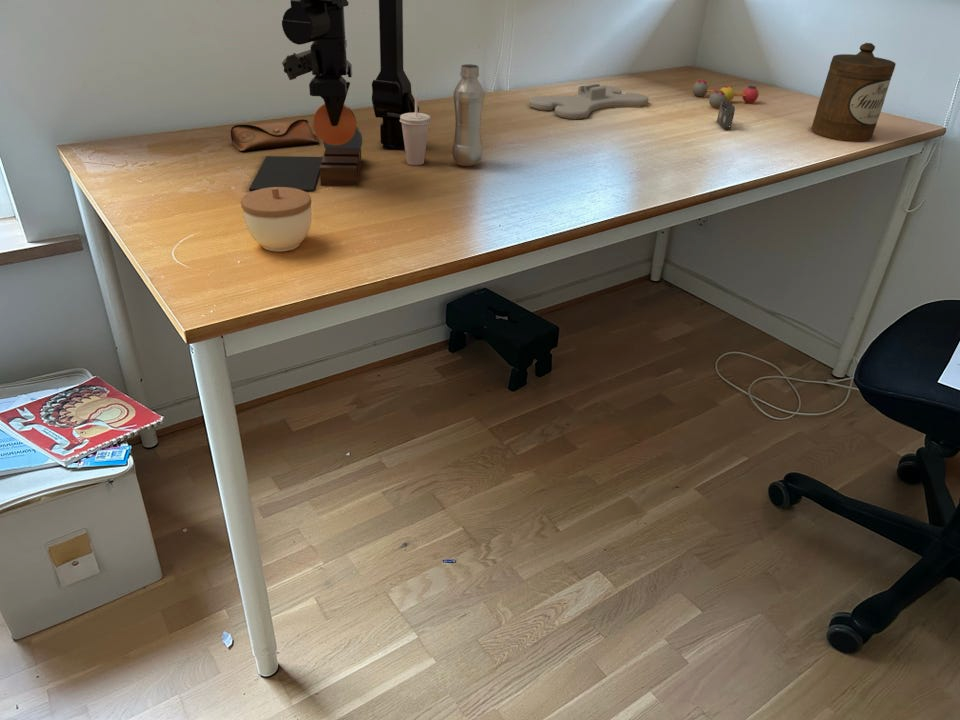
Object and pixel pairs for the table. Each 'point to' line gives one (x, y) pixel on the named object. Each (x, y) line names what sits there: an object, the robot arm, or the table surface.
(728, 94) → the molecule model
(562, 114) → the holder
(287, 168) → the grey mat
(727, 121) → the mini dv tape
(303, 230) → the trinket box
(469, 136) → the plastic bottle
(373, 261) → the table surface
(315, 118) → the terracotta coaster
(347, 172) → the coaster rack
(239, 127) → the sunglasses case
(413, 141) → the smoothie
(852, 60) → the wooden container
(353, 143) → the blue-grey coaster
